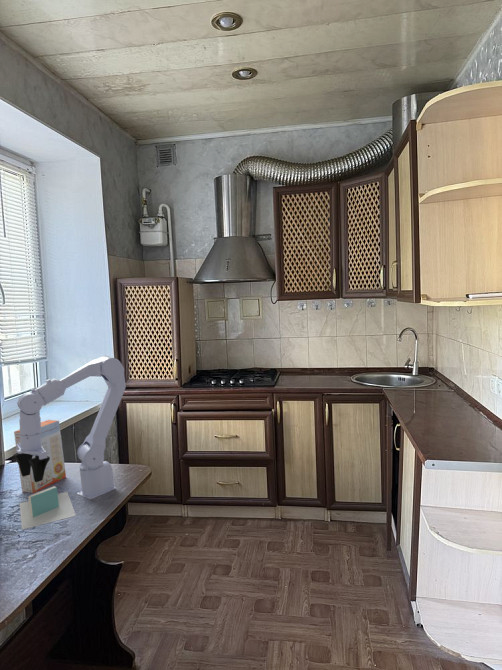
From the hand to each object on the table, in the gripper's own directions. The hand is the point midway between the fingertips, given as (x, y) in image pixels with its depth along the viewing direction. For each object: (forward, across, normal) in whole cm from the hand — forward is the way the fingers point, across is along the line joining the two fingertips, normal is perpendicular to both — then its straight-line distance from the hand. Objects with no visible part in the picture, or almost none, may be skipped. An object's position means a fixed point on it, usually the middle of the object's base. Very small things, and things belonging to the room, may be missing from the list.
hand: (32, 478), depth 143 cm
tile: (+9, +5, +1) cm, 10 cm away
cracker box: (+10, -16, +12) cm, 22 cm away
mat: (+10, +4, +2) cm, 11 cm away
